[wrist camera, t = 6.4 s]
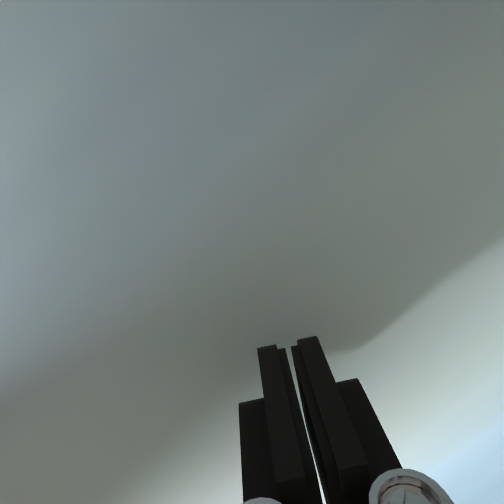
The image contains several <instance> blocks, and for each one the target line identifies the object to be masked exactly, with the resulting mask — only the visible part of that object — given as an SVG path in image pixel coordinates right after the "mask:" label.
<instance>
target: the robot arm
mask: <svg viewBox="0 0 504 504" xmlns="http://www.w3.org/2000/svg"><path fill="white" fill-rule="evenodd" d="M297 343H298V345H296V346H291V351H292V356H293V361H294V366H295V371H296V376H297V382H298V387H299V392H300V397H301V402H302V407H303V412H304V417H305V422H306V427H307V431H308V435H309V439H310V443H311V446H312V450H313V454H314V458H315V462H316V466H317V470H318V473H319V477H320V481H321V485H322V489H323V493H324V497H325V500H326V504H454V503H453V501H452V500H451V499H450V497H449V496H448V495H447V493H446V492H445V491H444V490H443V489H442V488H441V487H440V485H439V484H438V483H437V482H436V481H434V480H433V479H431V478H430V477H428V476H427V475H425V474H423V473H421V472H418V471H415V470H412V469H403V468H402V466H401V464H400V462H399V460H398V458H397V456H396V454H395V452H394V450H393V448H392V446H391V444H390V442H389V440H388V438H387V436H386V434H385V432H384V430H383V428H382V426H381V424H380V422H379V420H378V418H377V416H376V414H375V412H374V410H373V408H372V406H371V404H370V402H369V400H368V398H367V396H366V394H365V392H364V390H363V388H362V385H361V384H360V382H359V380H358V379H357V378H355V379H351V380H346V381H341V382H335V380H334V377H333V375H332V372H331V370H330V367H329V365H328V363H327V360H326V358H325V355H324V353H323V350H322V348H321V345H320V343H319V340H318V338H317V336H313V337H308V338H303V339H298V340H297ZM257 351H258V358H259V365H260V372H261V380H262V387H263V394H264V398H261V399H256V400H251V401H246V402H242V403H239V425H240V445H241V465H242V484H243V504H323V503H322V498H321V493H320V488H319V483H318V478H317V473H316V469H315V465H314V460H313V456H312V453H311V449H310V445H309V441H308V437H307V433H306V429H305V425H304V421H303V417H302V413H301V409H300V405H299V402H298V398H297V394H296V390H295V386H294V382H293V378H292V374H291V370H290V366H289V362H288V358H287V354H286V350H285V348H282V349H277V346H276V344H275V345H270V346H265V347H261V348H257Z"/></svg>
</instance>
